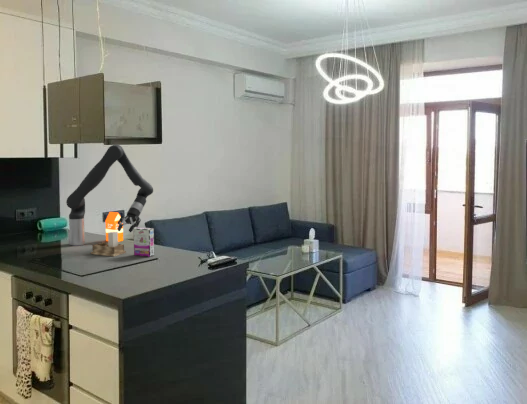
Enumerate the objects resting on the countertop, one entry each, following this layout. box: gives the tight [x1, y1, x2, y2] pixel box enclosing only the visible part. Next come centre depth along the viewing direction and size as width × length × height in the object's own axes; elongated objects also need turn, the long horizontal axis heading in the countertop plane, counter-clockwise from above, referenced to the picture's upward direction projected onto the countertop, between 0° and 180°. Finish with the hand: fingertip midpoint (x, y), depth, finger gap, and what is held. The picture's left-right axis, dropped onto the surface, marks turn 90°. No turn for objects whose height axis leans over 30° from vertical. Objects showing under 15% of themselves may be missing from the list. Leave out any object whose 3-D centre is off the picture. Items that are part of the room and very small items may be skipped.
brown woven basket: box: [90, 242, 127, 257], centre depth 291 cm, size 17×11×5 cm, turn 68°
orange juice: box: [105, 211, 124, 243], centre depth 330 cm, size 8×9×20 cm
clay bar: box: [107, 232, 119, 247], centre depth 289 cm, size 4×4×12 cm
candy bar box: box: [133, 227, 155, 258], centre depth 286 cm, size 11×5×16 cm, turn 71°
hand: (124, 231), depth 298 cm, fingers open, 8 cm apart
